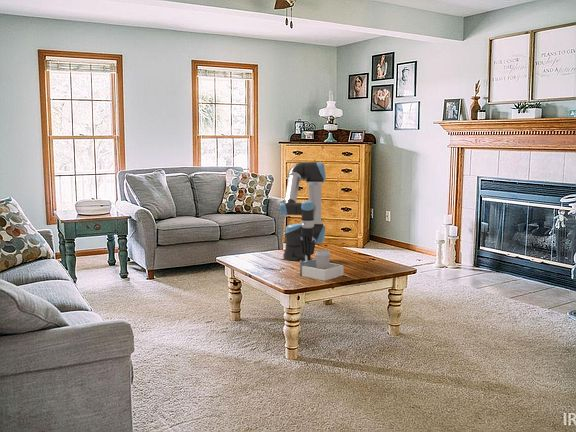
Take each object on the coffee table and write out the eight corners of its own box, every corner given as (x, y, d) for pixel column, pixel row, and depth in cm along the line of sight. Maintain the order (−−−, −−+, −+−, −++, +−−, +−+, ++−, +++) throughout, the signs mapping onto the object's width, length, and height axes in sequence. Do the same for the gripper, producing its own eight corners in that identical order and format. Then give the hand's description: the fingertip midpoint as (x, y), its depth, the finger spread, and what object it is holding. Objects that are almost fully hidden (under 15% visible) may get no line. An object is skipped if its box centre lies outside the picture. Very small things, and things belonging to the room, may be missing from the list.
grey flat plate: (303, 274, 337) (303, 262, 336) (301, 274, 338) (301, 262, 337) (317, 270, 346) (317, 258, 345) (316, 270, 347) (316, 258, 346)
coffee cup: (313, 273, 340) (313, 249, 338) (329, 273, 341) (329, 248, 339) (315, 277, 331) (315, 252, 328) (332, 277, 331) (332, 252, 329)
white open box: (299, 275, 337) (299, 260, 335) (318, 270, 349) (318, 255, 348) (324, 280, 323) (324, 265, 322) (343, 275, 336) (343, 260, 335)
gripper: (295, 226, 342) (295, 265, 346) (311, 229, 334) (311, 268, 337) (303, 225, 348) (303, 263, 351) (319, 227, 339) (319, 266, 342)
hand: (307, 265), depth 344 cm, fingers closed
